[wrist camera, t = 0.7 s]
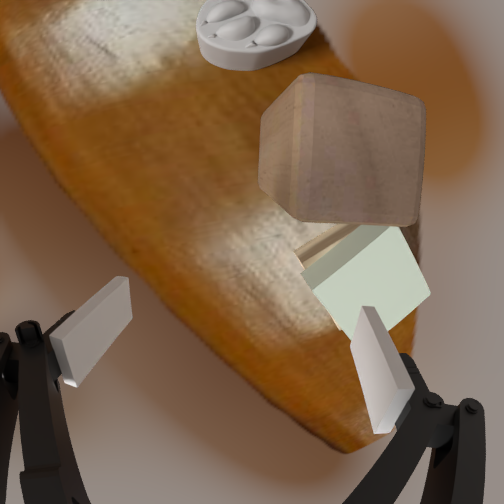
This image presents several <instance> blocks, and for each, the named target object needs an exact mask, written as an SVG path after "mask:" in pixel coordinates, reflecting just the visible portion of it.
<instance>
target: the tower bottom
mask: <svg viewBox="0 0 504 504" xmlns="http://www.w3.org/2000/svg"><path fill="white" fill-rule="evenodd" d="M359 226H360V225H358V224H337V225H335V226H333V227H332V228H330V229H329V230H327V231H325V232H324V233H322V234H321V235H319V236H317V237H316V238H314V239H312V240H311V241H309V242H308V243H306V244H304V245H303V246H301V247H299V248H298V249H296V250H294V251H293V252H294V253H295V255H296V257H297V258H298V260H299V262H300V264H301V265H302V267H303V269H304V270H305V269H307V268H308V267H309V266H311V265H312V264H313V263H314V262H316V261H317V260H318V259H319V258H321V257H322V256H323V255H324V254H326V253H327V252H328V251H329V250H331V249H332V248H333V247H334V246H336V245H337V244H338V243H339V242H341V241H342V240H343V239H344V238H346V237H347V236H348V235H349V234H350V233H352V232H353V231H354V230H355V229H356V228H358V227H359ZM328 313H329V312H328ZM329 315H330V316H331V314H330V313H329ZM331 318H332V319H333V321H334V322H335V324H336V326H337V327H338V329H339V330H342V328H341V327H340V326H339V324H338V323H337V322H336V321H335V319H334V318H333V317H332V316H331Z"/></svg>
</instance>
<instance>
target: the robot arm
mask: <svg viewBox="0 0 504 504" xmlns="http://www.w3.org/2000/svg"><path fill="white" fill-rule="evenodd" d="M131 319H132V310H131V301H130V290H129V280H128V277H122V276H116V277H115V278H114V279H113V280H111V281H110V282H109V283H108V284H107V285H106V286H105V287H103V288H102V289H101V290H100V291H98V292H97V293H96V294H95V295H94V296H93V297H91V298H90V299H89V300H88V301H87V302H86V303H85V304H83V305H82V306H81V307H80V308H79V309H78V310H77V311H75V310H73V311H71V312H69V313H67V314H65V315H64V316H63V317H62V318H61V319H60V320H58V321H57V322H56V323H55V324H54V325H53V326H51V327H50V328H49V329H48V330H47V331H46V332H45V333H44V334H43V335H42V331H41V328H40V325H39V323H38V322H37V321H32V320H28V321H24V322H22V323H20V324H19V325H17V326H16V328H15V332H16V335H17V338H18V341H19V343H15V342H11V340H10V337H9V335H8V334H7V333H4V332H0V504H5V501H6V489H7V477H8V468H9V460H10V452H11V446H12V441H13V434H14V430H15V425H16V419H17V415H18V411H19V421H20V434H21V444H22V453H23V459H24V467H25V470H24V471H22V472H20V484H21V489H22V493H23V499H24V503H25V504H91V503H90V501H89V498H88V496H87V493H86V490H85V487H84V485H83V481H82V478H81V476H80V472H79V469H78V466H77V462H76V459H75V455H74V452H73V448H72V444H71V440H70V437H69V432H68V427H67V423H66V418H65V414H64V408H63V403H62V397H61V391H60V384H59V381H58V379H57V378H58V377H59V376H60V375H61V374H62V376H63V379H64V382H65V383H67V384H69V385H72V386H74V387H78V386H79V385H80V383H81V382H82V381H83V380H84V378H85V377H86V376H87V374H88V373H89V372H90V370H91V369H92V368H93V367H94V365H95V364H96V363H97V361H98V360H99V359H100V358H101V357H102V355H103V354H104V353H105V351H106V350H107V349H108V348H109V346H110V345H111V344H112V343H113V341H114V340H115V339H116V338H117V337H118V335H119V334H120V333H121V332H122V330H123V329H124V328H125V327H126V326H127V324H128V323H129V322H130V321H131ZM350 348H351V352H352V355H353V358H354V362H355V365H356V369H357V372H358V376H359V379H360V383H361V386H362V390H363V394H364V397H365V401H366V405H367V409H368V412H369V416H370V420H371V424H372V428H373V432H374V434H380V433H390V431H391V430H392V428H393V427H394V425H396V429H397V432H396V434H395V436H394V437H393V439H392V440H391V441H390V443H389V444H388V446H387V447H386V449H385V450H384V452H383V453H382V454H381V456H380V457H379V459H378V460H377V461H376V463H375V464H374V465H373V467H372V468H371V469H370V471H369V472H368V473H367V475H366V476H365V477H364V478H363V480H362V481H361V482H360V483H359V485H358V486H357V487H356V488H355V489H354V491H353V492H352V493H351V494H350V495H349V497H348V498H347V499H346V500H345V501H344V502H343V503H342V504H394V502H395V501H396V499H397V498H398V496H399V494H400V493H401V491H402V489H403V488H404V486H405V485H406V483H407V482H408V480H409V478H410V476H411V475H412V473H413V471H414V469H415V468H416V466H417V464H418V462H419V460H420V459H421V457H422V455H423V453H424V451H425V449H426V447H431V448H432V452H431V457H430V463H429V469H428V473H427V478H426V482H425V487H424V491H423V495H422V499H421V502H420V504H483V496H484V483H485V461H486V443H485V441H486V440H485V418H484V417H485V416H484V409H483V406H482V405H481V403H479V402H478V401H477V400H475V399H472V398H466V399H463V400H462V401H461V402H460V404H459V405H458V406H454V405H448V404H444V401H443V399H442V398H441V397H440V396H439V395H437V394H436V393H433V392H430V391H429V389H428V387H427V386H426V383H425V381H424V380H423V378H422V376H421V374H420V372H419V370H418V368H417V366H416V364H415V362H414V360H413V359H412V358H411V357H410V356H409V355H408V354H406V353H398V351H397V349H396V347H395V345H394V343H393V341H392V339H391V337H390V335H389V333H388V331H387V330H386V328H385V326H384V324H383V322H382V320H381V318H380V316H379V314H378V312H377V311H376V309H375V307H374V306H361V310H360V314H359V317H358V321H357V324H356V328H355V331H354V335H353V338H352V341H351V345H350Z"/></svg>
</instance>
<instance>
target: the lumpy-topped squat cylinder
mask: <svg viewBox="0 0 504 504" xmlns="http://www.w3.org/2000/svg"><path fill="white" fill-rule="evenodd" d="M316 24H317V17H316V14H315V12H314V11H313V9H312V8H311V7H310V6H309V5H308V4H307V3H306V2H305V1H304V0H207V1H206V2H205V3H204V4H203V6H202V7H201V9H200V11H199V13H198V16H197V20H196V31H197V37H198V42H199V46H200V51H201V53H202V55H203V57H204V58H205V59H206V60H207V61H208V62H210V63H212V64H214V65H216V66H218V67H221V68H224V69H230V70H242V71H252V70H257V69H261V68H264V67H267V66H269V65H272V64H275V63H277V62H279V61H281V60H283V59H285V58H287V57H290V56H291V55H293V54H295V53H296V52H297V51H298V50H299V49H300V47H301V46H302V45H303V43H304V42H305V41H306V40H307V38H308V37H309V36H310V34H311V33H312V32H313V31H314V29H315V27H316Z"/></svg>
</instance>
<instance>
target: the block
mask: <svg viewBox="0 0 504 504" xmlns="http://www.w3.org/2000/svg"><path fill="white" fill-rule="evenodd" d="M425 133H426V108H425V105H424V102H423V101H422V100H420V99H419V98H417V97H415V96H412V95H409V94H406V93H403V92H399V91H396V90H392V89H388V88H385V87H381V86H377V85H373V84H369V83H364V82H360V81H355V80H351V79H346V78H341V77H335V76H330V75H324V74H318V73H311V72H310V73H306V74H302V75H299V76H298V77H297V78H296V79H295V80H294V81H293V82H292V83H291V84H290V85H289V87H288V88H287V89H286V90H285V91H284V92H283V93H282V94H281V95H280V96H279V97H278V98H277V99H276V100H275V101H274V102H273V103H272V104H271V105H270V106H269V107H268V109H267V110H266V111H265V112H264V113H263V115H262V117H261V128H260V149H259V171H258V184H259V187H260V189H262V190H263V191H264V192H265V193H266V194H267V195H268V196H270V197H271V198H272V199H273V200H274V201H275V202H276V203H277V204H279V205H280V206H281V207H282V208H283V209H284V210H285V211H286V212H287V213H289V214H290V215H291V216H292V217H293V218H295V219H297V220H300V221H302V222H314V223H337V224H358V225H376V226H393V227H406V226H410V225H413V224H415V222H416V220H417V218H418V215H419V207H420V199H421V191H422V181H423V170H424V156H425V136H426V134H425Z"/></svg>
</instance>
